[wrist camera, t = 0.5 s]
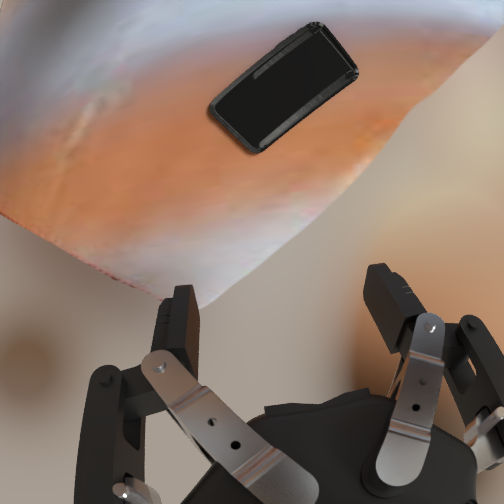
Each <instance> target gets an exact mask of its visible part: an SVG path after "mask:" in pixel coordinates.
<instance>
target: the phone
mask: <svg viewBox="0 0 504 504" xmlns="http://www.w3.org/2000/svg"><path fill="white" fill-rule="evenodd" d="M358 76H359V70H358V68H357V66H356V64H355V63H354V62H353V60H352V59H351V58H350V56H349V55H348V53H347V52H346V51H345V49H344V48H343V47H342V46H341V44H340V43H339V42H338V40H337V39H336V38H335V37H334V35H333V34H332V33H331V32H330V30H329V29H328V28H327V27H326V26H325V25H324V24H323V23H320V22H311V23H309V24H307V25H306V26H304V27H303V28H300V29H299V30H297V32H296V33H294V34H292V35H290V36H289V37H287V38H286V40H285V41H284V40H283V41H282V42H280V43H279V44H278V45H277V47H275V48H274V49H273V50H271V51H270V52H269V53H267V54H266V55H265V56H264V57H262V58H261V59H260V60H259V61H257V62H256V63H255V64H254V65H252V66H251V67H250V68H249V69H248V70H246V71H245V72H244V73H243V74H242V75H240V76H239V77H238V78H237V79H236V80H235V81H233V82H232V83H231V84H230V85H229V86H228V87H227V88H225V89H224V90H223V91H222V92H221V93H220V94H219V95H218V96H217V97H215V98H214V99H213V100H212V102H211V104H210V112H211V114H212V115H213V116H214V117H215V118H216V119H217V120H218V121H219V122H220V123H221V124H222V125H223V126H224V127H226V128H227V129H228V130H229V131H230V132H231V133H232V134H233V135H234V136H235V137H236V138H237V139H238V140H239V141H240V142H241V143H242V144H243V145H244V146H245V147H246V148H247V149H248V150H250V151H251V152H253V153H260V152H263V151H264V150H265V149H267V148H268V147H269V146H270V145H272V144H273V143H274V142H275V141H276V140H278V139H279V138H280V137H281V136H283V135H284V134H285V133H286V132H288V131H289V130H290V129H291V128H293V127H294V126H295V125H296V124H298V123H299V122H300V121H302V120H303V119H304V118H305V117H307V116H308V115H309V114H311V113H312V112H313V111H315V110H316V109H317V108H318V107H320V106H321V105H322V104H324V103H325V102H326V101H328V100H329V99H330V98H332V97H333V96H335V95H336V94H337V93H339V92H340V91H341V90H343V89H344V88H345V87H347V86H348V85H350V84H351V83H352V82H354V81H355V80H356V79H357V78H358Z"/></svg>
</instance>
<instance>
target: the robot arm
mask: <svg viewBox="0 0 504 504" xmlns="http://www.w3.org/2000/svg"><path fill="white" fill-rule="evenodd" d="M363 297H364V301H365V304H366V306H367V307H368V309H369V311H370V313H371V315H372V317H373V319H374V321H375V323H376V325H377V327H378V329H379V331H380V333H381V335H382V337H383V339H384V341H385V343H386V345H387V347H388V349H389V351H390V353H391V354H393V353H397V352H400V354H401V357H400V360H399V363H398V366H397V369H396V373H395V376H394V379H393V382H392V385H391V388H390V391H389V393H388V396H387V397H385V396H381V395H374V394H370V391H369V389H368V388H364V389H360V390H356V391H352V392H347V393H344V394H341V395H339V396H338V397H335V398H333V399H331V400H329V401H326V402H324V403H322V404H301V403H287V404H280V405H272V406H265V407H264V410H265V414H262V415H259V416H257V417H255V418H253V419H251V420H250V421H248V422H247V423H245V422H244V421H243V420H242V419H241V418H240V417H238V416H237V415H236V414H235V413H234V412H233V411H232V410H231V409H230V408H229V407H228V406H227V405H226V404H225V403H224V402H223V401H222V400H221V399H220V398H219V397H218V396H217V395H216V394H215V393H214V392H213V391H212V390H211V389H210V388H208V387H207V386H202V385H201V384H199V382H198V358H199V357H198V356H199V332H200V316H199V310H198V305H197V301H196V297H195V293H194V289H193V286H192V284H191V285H180V286H175V289H174V295H173V298H165V299H164V301H163V302H162V303H161V305H160V306H159V309H158V315H157V319H156V325H155V330H154V336H153V341H152V346H151V352H150V353H149V354H148V355H146V356H145V357H144V359H143V360H142V363H141V364H140V365H138V366H136V367H133V368H129V369H126V370H123V371H120V370H119V369H118V368H117V367H115V366H113V365H104V366H101V367H99V368H98V369H96V370H95V371H94V372H93V374H92V376H91V378H90V382H89V387H88V392H87V397H86V402H85V408H84V414H83V421H82V427H81V433H80V441H79V448H78V456H77V465H76V476H75V489H74V504H162V503H161V499H160V496H159V494H158V493H157V492H156V491H155V490H154V489H153V488H151V487H150V486H148V485H147V484H145V482H144V481H145V479H144V460H145V458H144V457H145V421H146V420H145V419H146V416H148V415H151V414H154V413H158V412H161V411H164V410H166V411H167V413H168V414H169V415H170V416H171V418H172V419H173V420H174V421H175V423H176V424H177V425H178V426H179V427H180V429H181V430H182V431H183V432H184V433H185V435H186V436H187V437H188V438H189V439H190V440H191V442H192V443H193V444H194V446H196V448H197V449H198V450H199V451H200V453H201V454H202V455H203V456H204V457H205V458H206V459H207V460H208V461H209V462H210V463H211V465H212V466H211V467H210V468H209V470H208V471H207V472H206V473H205V475H204V476H203V477H202V478H201V480H200V481H199V482H198V483H197V485H196V486H195V487H194V488H193V489H192V491H191V492H190V493H189V494H188V495H187V497H186V498H185V499H184V500H183V501H182V503H181V504H478V503H477V500H476V477H477V473H479V472H480V471H482V470H484V469H485V470H491V469H494V468H495V467H497V466H499V465H500V464H502V463H503V462H504V355H503V354H502V352H501V350H500V349H499V347H498V345H497V344H496V342H495V340H494V339H493V337H492V336H491V334H490V332H489V331H488V329H487V328H486V326H485V325H484V323H483V322H482V321H481V320H480V319H479V318H478V317H476V316H473V315H465V316H463V317H462V318H461V320H460V322H459V324H456V323H455V324H454V323H444V321H443V320H442V319H441V318H440V317H439V316H437V315H435V314H433V313H427V311H426V310H425V308H424V307H423V305H422V304H421V302H420V301H419V299H418V298H417V296H416V295H415V294H414V293H413V291H412V289H411V288H410V287H409V285H408V284H407V282H406V281H405V279H404V278H403V277H401V276H400V275H398V274H397V273H395V272H393V273H392V272H391V270H390V269H389V268H388V266H387V265H386V264H385V263H379V264H373V265H369V266H368V269H367V275H366V279H365V285H364V289H363ZM469 358H470V360H471V362H472V364H473V365H474V367H475V369H476V375H475V373H474V372H473V370H472V368H471V366H470V364H469V362H468V359H469ZM443 375H444V377H445V379H446V382H447V384H448V386H449V388H450V390H451V393H452V395H453V397H454V400H455V402H456V404H457V407H458V409H459V412H460V414H461V416H462V419H463V422H464V424H465V430H464V439H463V441H461V440H459V439H457V438H456V437H454V436H452V435H451V434H449V433H447V432H446V431H444V430H442V429H441V428H439V427H437V426H436V425H434V424H432V422H433V418H434V415H435V411H436V406H437V402H438V397H439V392H440V387H441V382H442V376H443Z"/></svg>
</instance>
